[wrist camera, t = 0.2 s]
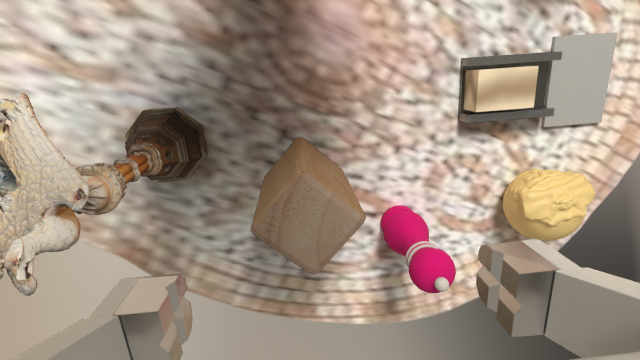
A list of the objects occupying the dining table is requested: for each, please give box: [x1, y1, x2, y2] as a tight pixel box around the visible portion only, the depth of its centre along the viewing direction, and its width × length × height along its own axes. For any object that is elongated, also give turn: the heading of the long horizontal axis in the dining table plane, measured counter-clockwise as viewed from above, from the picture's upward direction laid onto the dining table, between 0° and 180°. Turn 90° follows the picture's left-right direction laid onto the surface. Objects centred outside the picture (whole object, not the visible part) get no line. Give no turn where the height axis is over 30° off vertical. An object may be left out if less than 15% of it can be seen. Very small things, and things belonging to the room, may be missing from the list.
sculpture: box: [503, 169, 595, 241], centre depth 57 cm, size 12×12×11 cm
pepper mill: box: [381, 206, 456, 293], centre depth 52 cm, size 7×7×20 cm
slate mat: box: [541, 33, 617, 127], centre depth 56 cm, size 14×10×1 cm
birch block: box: [464, 66, 539, 112], centre depth 54 cm, size 6×9×4 cm, turn 94°
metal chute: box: [458, 51, 562, 123], centre depth 55 cm, size 10×14×3 cm
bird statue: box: [0, 93, 207, 296], centre depth 38 cm, size 17×13×35 cm
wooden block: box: [251, 137, 366, 275], centre depth 49 cm, size 10×10×20 cm
